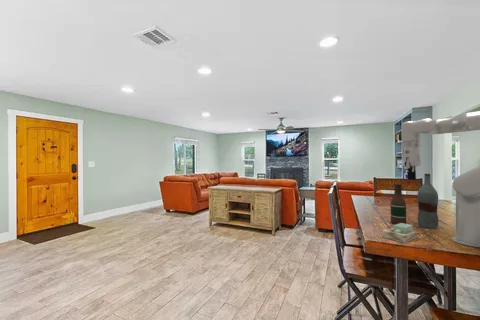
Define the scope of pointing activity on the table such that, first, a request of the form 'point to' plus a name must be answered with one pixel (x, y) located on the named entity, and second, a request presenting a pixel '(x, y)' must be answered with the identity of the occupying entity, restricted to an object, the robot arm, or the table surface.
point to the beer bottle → (398, 206)
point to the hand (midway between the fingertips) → (411, 179)
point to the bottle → (403, 228)
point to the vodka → (427, 205)
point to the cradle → (399, 235)
